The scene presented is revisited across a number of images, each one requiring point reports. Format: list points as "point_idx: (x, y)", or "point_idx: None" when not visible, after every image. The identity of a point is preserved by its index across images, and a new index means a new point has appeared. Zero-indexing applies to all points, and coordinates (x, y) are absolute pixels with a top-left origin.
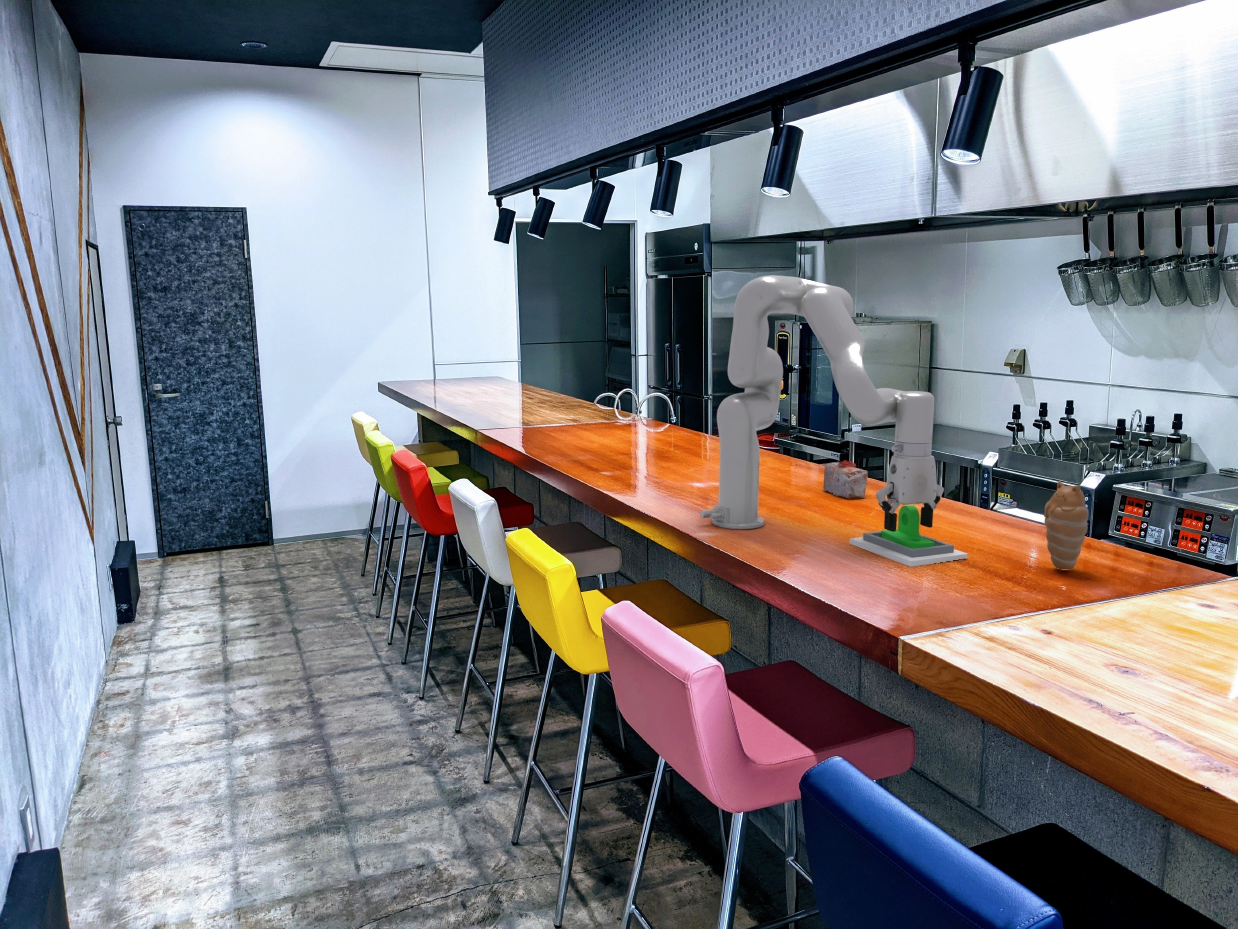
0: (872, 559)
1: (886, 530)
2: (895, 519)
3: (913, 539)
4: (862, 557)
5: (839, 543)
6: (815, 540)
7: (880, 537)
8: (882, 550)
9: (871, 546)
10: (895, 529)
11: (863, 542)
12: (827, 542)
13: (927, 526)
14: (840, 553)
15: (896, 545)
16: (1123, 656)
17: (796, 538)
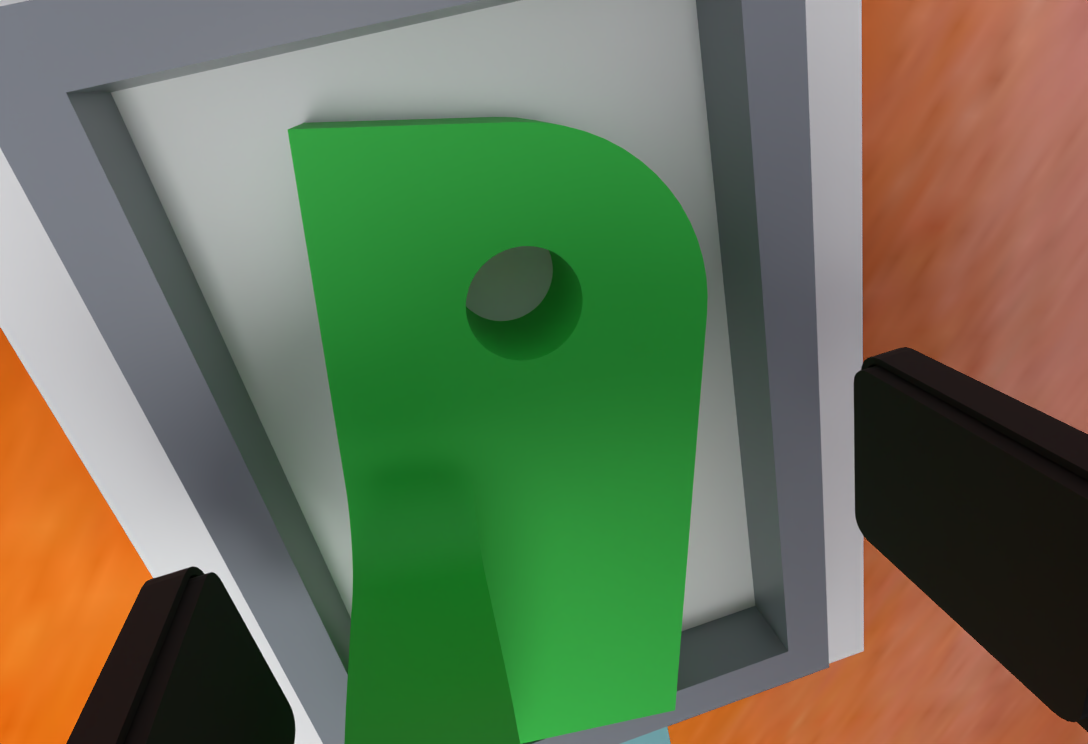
0: (969, 152)
1: (625, 714)
2: (1049, 435)
3: (523, 358)
4: (1000, 233)
5: (892, 627)
6: (981, 686)
7: None
8: (859, 267)
9: None
10: (893, 360)
11: (842, 544)
12: (947, 647)
13: (230, 599)
14: (1064, 373)
15: (807, 203)
16: None
17: (1047, 718)
